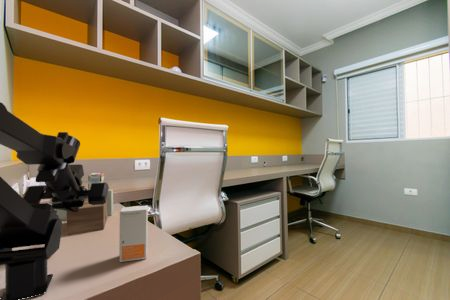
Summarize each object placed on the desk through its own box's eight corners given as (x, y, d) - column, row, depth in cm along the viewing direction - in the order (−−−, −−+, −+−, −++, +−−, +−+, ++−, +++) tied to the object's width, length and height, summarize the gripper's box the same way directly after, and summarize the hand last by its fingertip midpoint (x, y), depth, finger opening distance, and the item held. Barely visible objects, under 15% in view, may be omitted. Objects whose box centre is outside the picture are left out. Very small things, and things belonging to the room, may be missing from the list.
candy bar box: (101, 213, 88) (101, 174, 88) (87, 215, 86) (87, 175, 86) (104, 207, 98) (104, 171, 98) (91, 208, 96) (91, 172, 96)
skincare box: (119, 263, 49) (118, 211, 49) (122, 254, 53) (122, 206, 53) (147, 259, 50) (146, 209, 50) (148, 251, 55) (147, 204, 55)
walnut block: (103, 230, 70) (103, 206, 70) (66, 235, 66) (66, 209, 66) (107, 218, 83) (107, 197, 83) (76, 221, 79) (76, 200, 79)
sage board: (111, 215, 85) (111, 190, 85) (52, 220, 79) (52, 194, 79) (113, 213, 88) (112, 189, 88) (56, 218, 82) (55, 192, 82)
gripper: (107, 154, 61) (115, 186, 71) (26, 155, 55) (48, 190, 66) (99, 186, 53) (110, 217, 64) (6, 191, 48) (34, 224, 58)
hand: (76, 210), depth 63 cm, fingers closed
